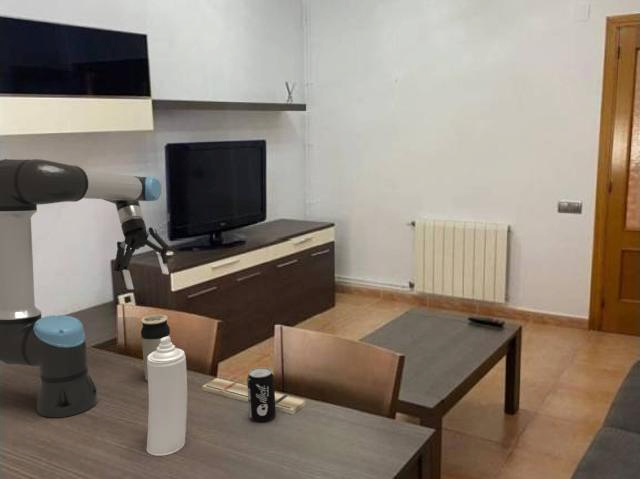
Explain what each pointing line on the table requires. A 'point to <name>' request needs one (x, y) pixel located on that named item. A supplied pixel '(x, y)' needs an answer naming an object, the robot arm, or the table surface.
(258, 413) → the beverage can
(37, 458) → the table surface
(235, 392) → the birch straightedge
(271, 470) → the table surface
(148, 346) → the travel mug
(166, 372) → the spray can
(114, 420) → the table surface
